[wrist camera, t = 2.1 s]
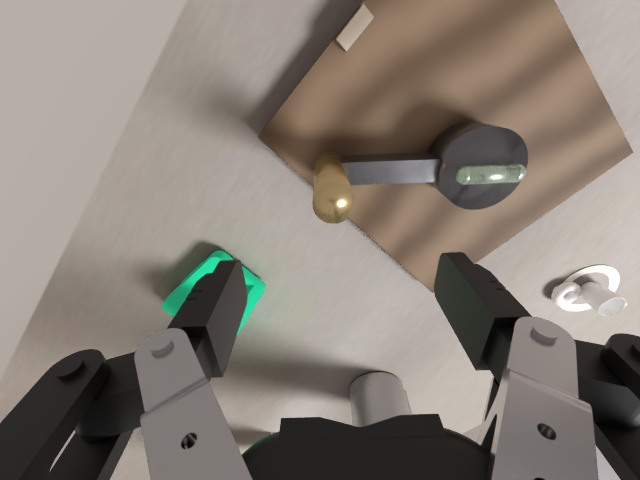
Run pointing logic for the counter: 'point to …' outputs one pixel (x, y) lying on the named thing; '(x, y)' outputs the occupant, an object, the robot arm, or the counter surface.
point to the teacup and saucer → (590, 292)
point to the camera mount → (181, 292)
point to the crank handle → (429, 170)
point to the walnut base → (450, 116)
